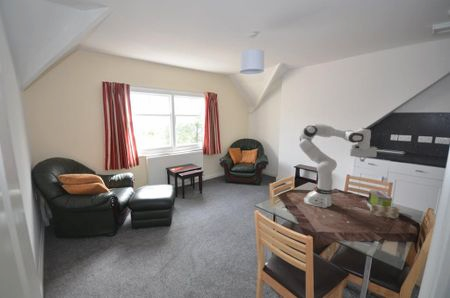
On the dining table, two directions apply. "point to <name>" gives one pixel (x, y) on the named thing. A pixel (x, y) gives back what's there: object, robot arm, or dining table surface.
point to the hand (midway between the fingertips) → (362, 161)
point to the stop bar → (384, 211)
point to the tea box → (379, 198)
